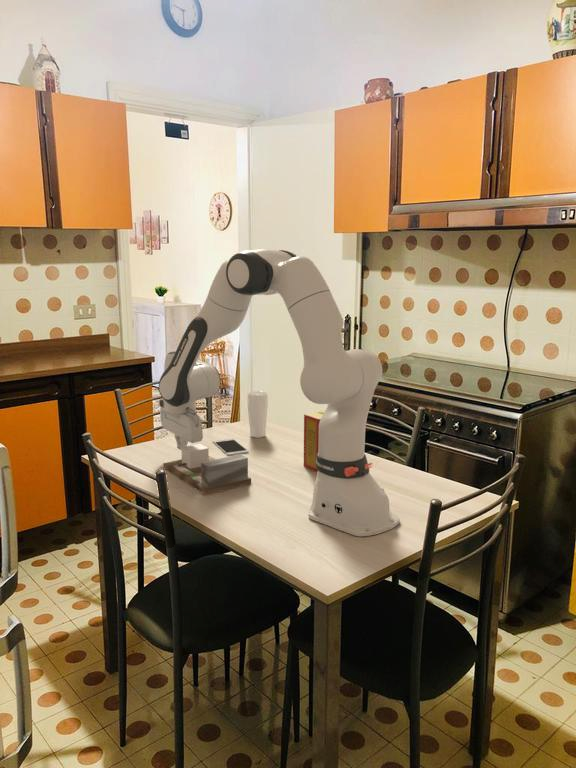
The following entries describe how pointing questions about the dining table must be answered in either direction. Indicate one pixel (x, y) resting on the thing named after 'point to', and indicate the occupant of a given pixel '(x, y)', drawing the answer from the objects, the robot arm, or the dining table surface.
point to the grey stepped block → (213, 473)
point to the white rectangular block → (194, 455)
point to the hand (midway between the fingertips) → (182, 449)
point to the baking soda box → (311, 438)
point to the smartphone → (230, 447)
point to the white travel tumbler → (257, 413)
